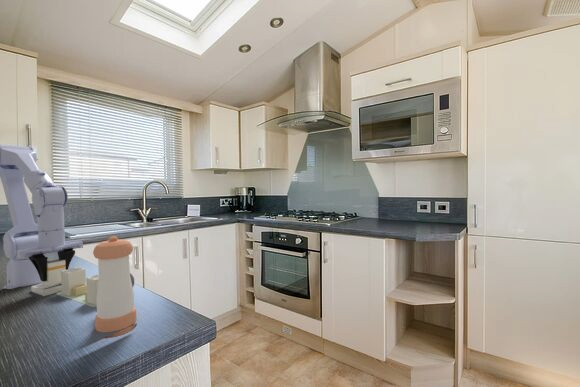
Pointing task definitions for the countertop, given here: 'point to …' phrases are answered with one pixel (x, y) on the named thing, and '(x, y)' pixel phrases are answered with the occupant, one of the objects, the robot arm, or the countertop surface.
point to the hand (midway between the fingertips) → (53, 278)
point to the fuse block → (78, 295)
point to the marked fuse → (54, 271)
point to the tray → (40, 289)
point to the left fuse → (72, 279)
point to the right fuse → (92, 288)
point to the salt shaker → (114, 288)
